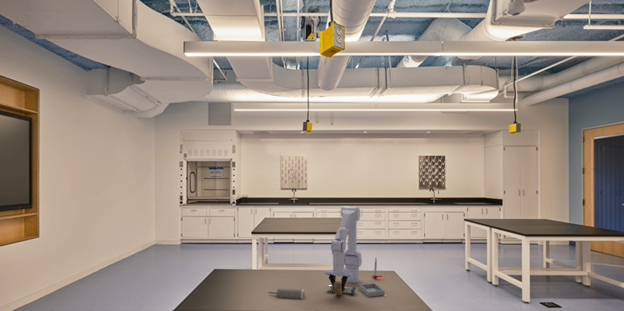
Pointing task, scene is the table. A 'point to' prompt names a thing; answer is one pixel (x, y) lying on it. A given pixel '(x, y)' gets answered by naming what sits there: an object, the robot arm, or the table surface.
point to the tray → (371, 289)
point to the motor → (290, 293)
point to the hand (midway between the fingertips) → (338, 290)
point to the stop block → (338, 287)
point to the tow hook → (376, 272)
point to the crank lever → (346, 290)
